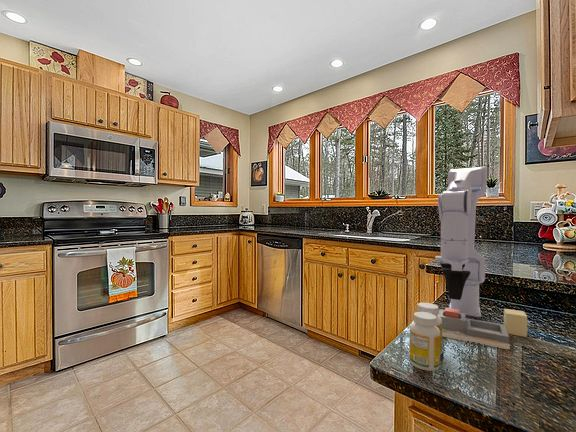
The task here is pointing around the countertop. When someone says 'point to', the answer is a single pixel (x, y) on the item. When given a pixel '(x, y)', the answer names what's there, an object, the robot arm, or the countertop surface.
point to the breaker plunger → (452, 312)
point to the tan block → (515, 322)
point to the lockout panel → (474, 330)
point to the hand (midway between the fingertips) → (453, 294)
